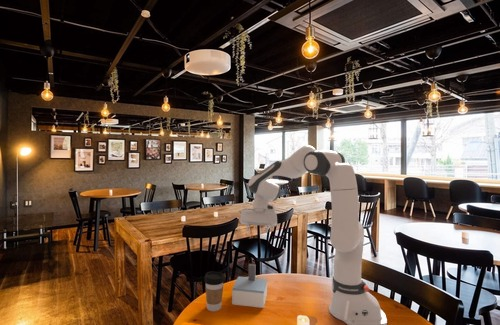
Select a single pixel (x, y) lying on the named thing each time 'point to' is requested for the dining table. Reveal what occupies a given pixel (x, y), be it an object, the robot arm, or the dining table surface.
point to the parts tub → (249, 298)
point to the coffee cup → (214, 290)
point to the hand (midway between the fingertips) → (257, 231)
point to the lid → (250, 282)
